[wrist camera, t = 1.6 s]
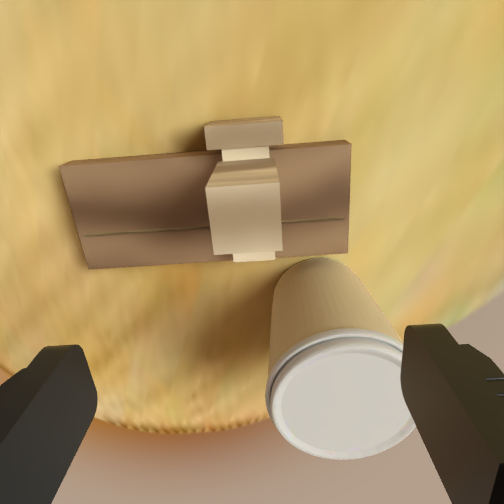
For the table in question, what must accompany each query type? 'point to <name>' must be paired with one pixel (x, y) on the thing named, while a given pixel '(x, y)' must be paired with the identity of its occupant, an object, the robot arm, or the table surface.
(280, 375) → the coffee cup
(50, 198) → the table surface
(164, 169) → the board
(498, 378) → the robot arm
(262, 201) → the beige stepped block
